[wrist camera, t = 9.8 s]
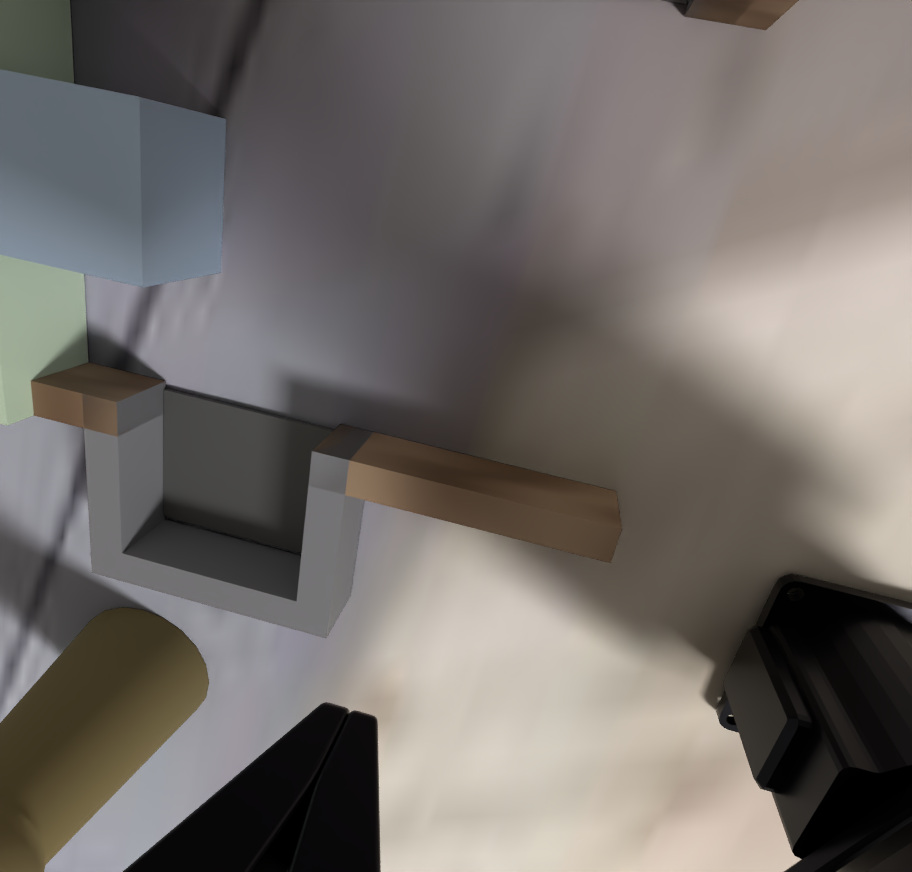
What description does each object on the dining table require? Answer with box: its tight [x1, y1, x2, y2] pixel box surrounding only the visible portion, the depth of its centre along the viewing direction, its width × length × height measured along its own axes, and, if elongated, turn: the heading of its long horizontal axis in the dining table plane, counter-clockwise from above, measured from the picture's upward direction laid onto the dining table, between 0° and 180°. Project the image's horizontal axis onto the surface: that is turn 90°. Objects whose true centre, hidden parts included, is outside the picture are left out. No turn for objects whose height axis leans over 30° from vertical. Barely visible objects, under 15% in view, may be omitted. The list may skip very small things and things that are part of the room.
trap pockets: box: [82, 0, 726, 638], centre depth 17 cm, size 16×27×2 cm, turn 170°
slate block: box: [0, 69, 226, 287], centre depth 17 cm, size 4×4×4 cm
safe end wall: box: [0, 0, 88, 425], centre depth 17 cm, size 1×15×4 cm, turn 170°
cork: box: [0, 607, 209, 872], centre depth 21 cm, size 6×6×11 cm
